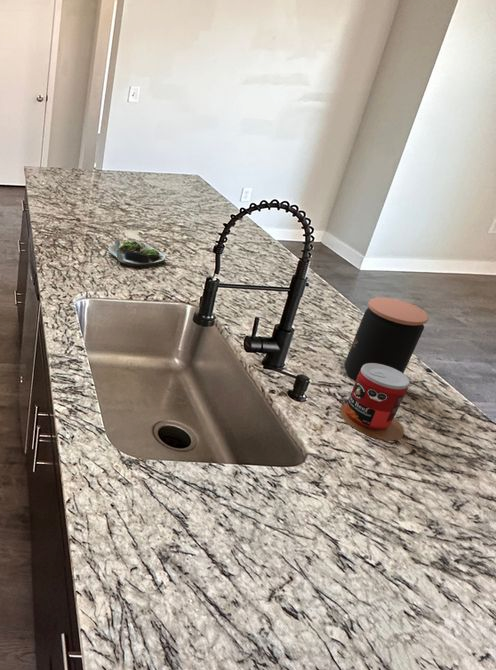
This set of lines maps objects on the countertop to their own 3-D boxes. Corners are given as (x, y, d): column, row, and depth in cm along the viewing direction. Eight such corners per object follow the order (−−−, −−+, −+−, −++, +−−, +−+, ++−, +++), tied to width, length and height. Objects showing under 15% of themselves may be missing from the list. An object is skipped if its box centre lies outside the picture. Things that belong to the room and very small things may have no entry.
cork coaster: (398, 413, 111) (398, 413, 111) (408, 447, 103) (409, 447, 103) (337, 396, 116) (337, 396, 116) (342, 428, 107) (342, 427, 107)
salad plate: (94, 246, 186) (96, 234, 184) (139, 242, 191) (141, 230, 189) (123, 270, 170) (125, 257, 168) (171, 264, 175) (174, 251, 173)
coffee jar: (365, 360, 129) (392, 294, 121) (409, 387, 120) (441, 318, 112) (331, 367, 126) (357, 300, 118) (374, 395, 117) (405, 325, 109)
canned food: (336, 404, 113) (353, 361, 109) (374, 406, 113) (393, 363, 108) (358, 430, 106) (377, 385, 102) (398, 432, 106) (419, 387, 102)
